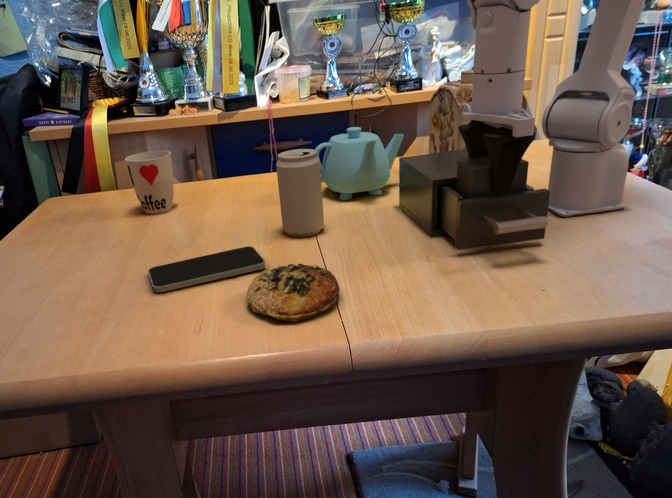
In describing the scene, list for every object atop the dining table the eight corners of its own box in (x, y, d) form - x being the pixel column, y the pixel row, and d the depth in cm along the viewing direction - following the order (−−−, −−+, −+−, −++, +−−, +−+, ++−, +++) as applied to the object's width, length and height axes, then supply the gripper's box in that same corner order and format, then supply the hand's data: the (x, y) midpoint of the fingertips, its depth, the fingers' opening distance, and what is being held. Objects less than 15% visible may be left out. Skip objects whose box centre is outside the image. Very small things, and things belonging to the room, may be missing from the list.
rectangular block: (506, 186, 75) (509, 153, 73) (525, 196, 71) (529, 161, 69) (455, 193, 75) (457, 160, 73) (471, 203, 70) (473, 169, 68)
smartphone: (147, 268, 77) (251, 244, 80) (148, 274, 77) (252, 250, 80) (153, 288, 70) (266, 262, 74) (154, 295, 71) (267, 268, 74)
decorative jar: (455, 183, 100) (460, 76, 92) (426, 169, 110) (428, 71, 102) (516, 174, 101) (526, 67, 93) (482, 161, 112) (489, 63, 104)
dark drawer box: (565, 251, 68) (572, 201, 65) (474, 264, 67) (477, 214, 64) (495, 208, 84) (499, 166, 81) (421, 218, 83) (422, 176, 80)
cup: (128, 215, 103) (115, 161, 98) (152, 202, 109) (141, 150, 105) (165, 217, 100) (154, 161, 95) (188, 203, 106) (178, 150, 102)
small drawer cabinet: (517, 225, 79) (523, 168, 76) (431, 237, 79) (432, 180, 75) (473, 197, 92) (476, 147, 89) (399, 207, 92) (399, 157, 88)
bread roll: (352, 282, 67) (347, 245, 65) (323, 339, 59) (316, 300, 57) (270, 277, 72) (262, 243, 70) (232, 329, 64) (221, 293, 61)
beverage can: (321, 238, 83) (316, 156, 77) (279, 239, 84) (271, 159, 79) (326, 223, 88) (322, 146, 83) (286, 224, 90) (279, 148, 84)
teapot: (412, 184, 102) (413, 120, 97) (375, 206, 93) (374, 137, 88) (341, 178, 111) (338, 119, 106) (301, 197, 102) (296, 134, 97)
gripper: (442, 70, 72) (439, 174, 78) (494, 80, 59) (485, 203, 65) (495, 64, 73) (488, 168, 79) (558, 72, 60) (543, 196, 66)
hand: (490, 183), depth 72 cm, fingers closed on rectangular block, 5 cm apart
